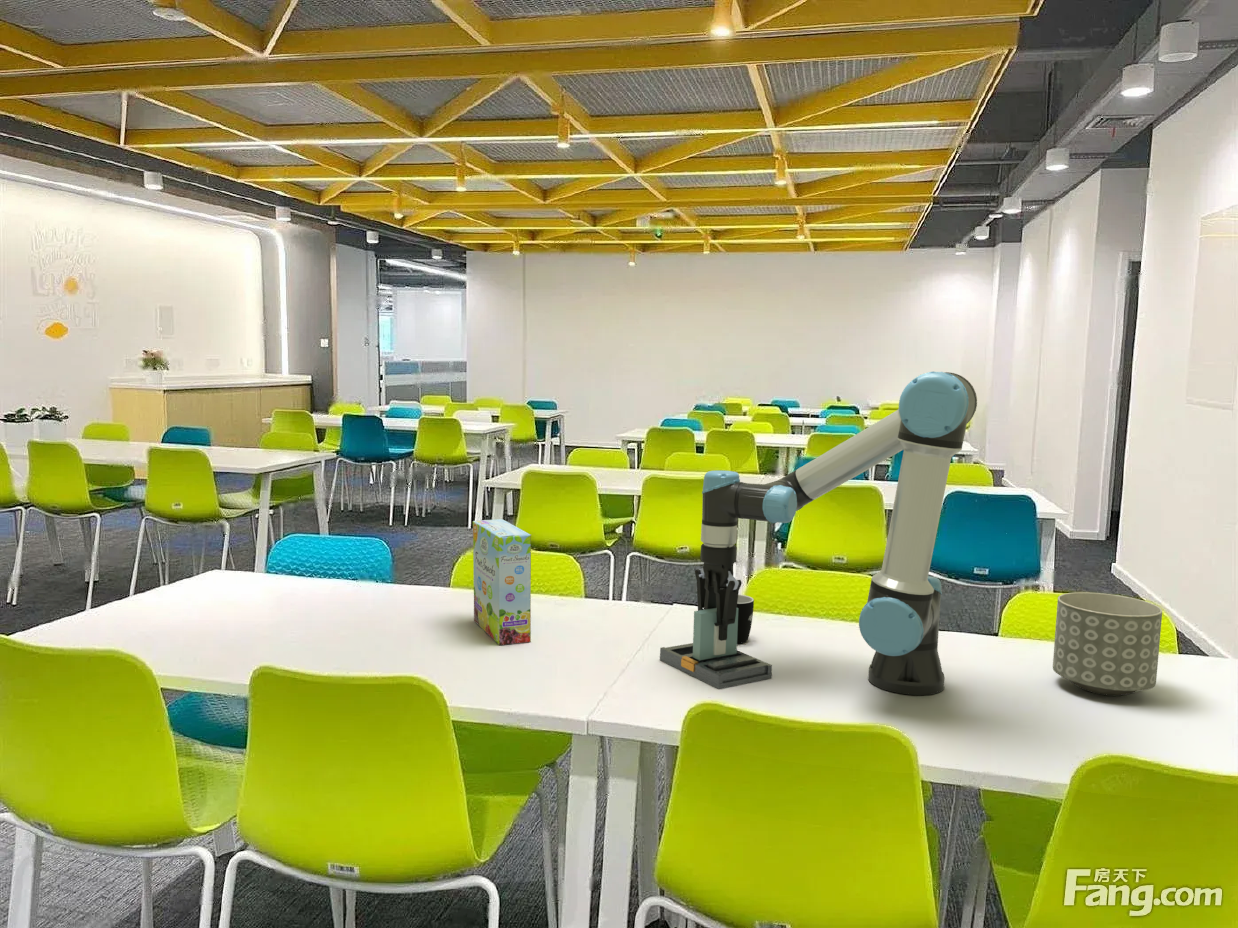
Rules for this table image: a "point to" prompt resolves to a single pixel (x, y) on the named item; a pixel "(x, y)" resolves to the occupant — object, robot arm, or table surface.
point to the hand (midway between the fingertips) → (714, 651)
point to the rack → (717, 667)
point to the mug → (744, 617)
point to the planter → (1107, 642)
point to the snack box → (502, 581)
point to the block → (711, 635)
